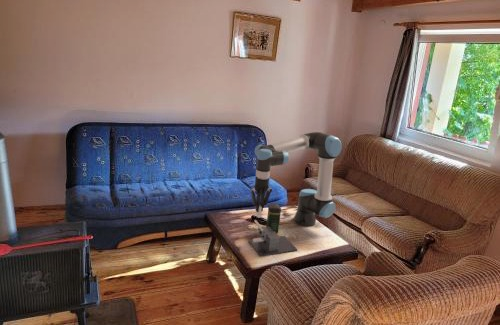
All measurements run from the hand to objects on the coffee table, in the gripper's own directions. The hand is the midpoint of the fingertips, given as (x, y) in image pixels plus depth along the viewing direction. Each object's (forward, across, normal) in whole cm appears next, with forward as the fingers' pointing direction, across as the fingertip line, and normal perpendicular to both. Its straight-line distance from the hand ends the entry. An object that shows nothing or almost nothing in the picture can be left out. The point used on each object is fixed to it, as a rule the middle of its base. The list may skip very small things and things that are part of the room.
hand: (258, 216), depth 200 cm
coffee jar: (+21, -19, -17) cm, 33 cm away
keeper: (+8, -1, 0) cm, 8 cm away
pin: (+18, -6, 0) cm, 19 cm away
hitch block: (+20, -11, 0) cm, 23 cm away
